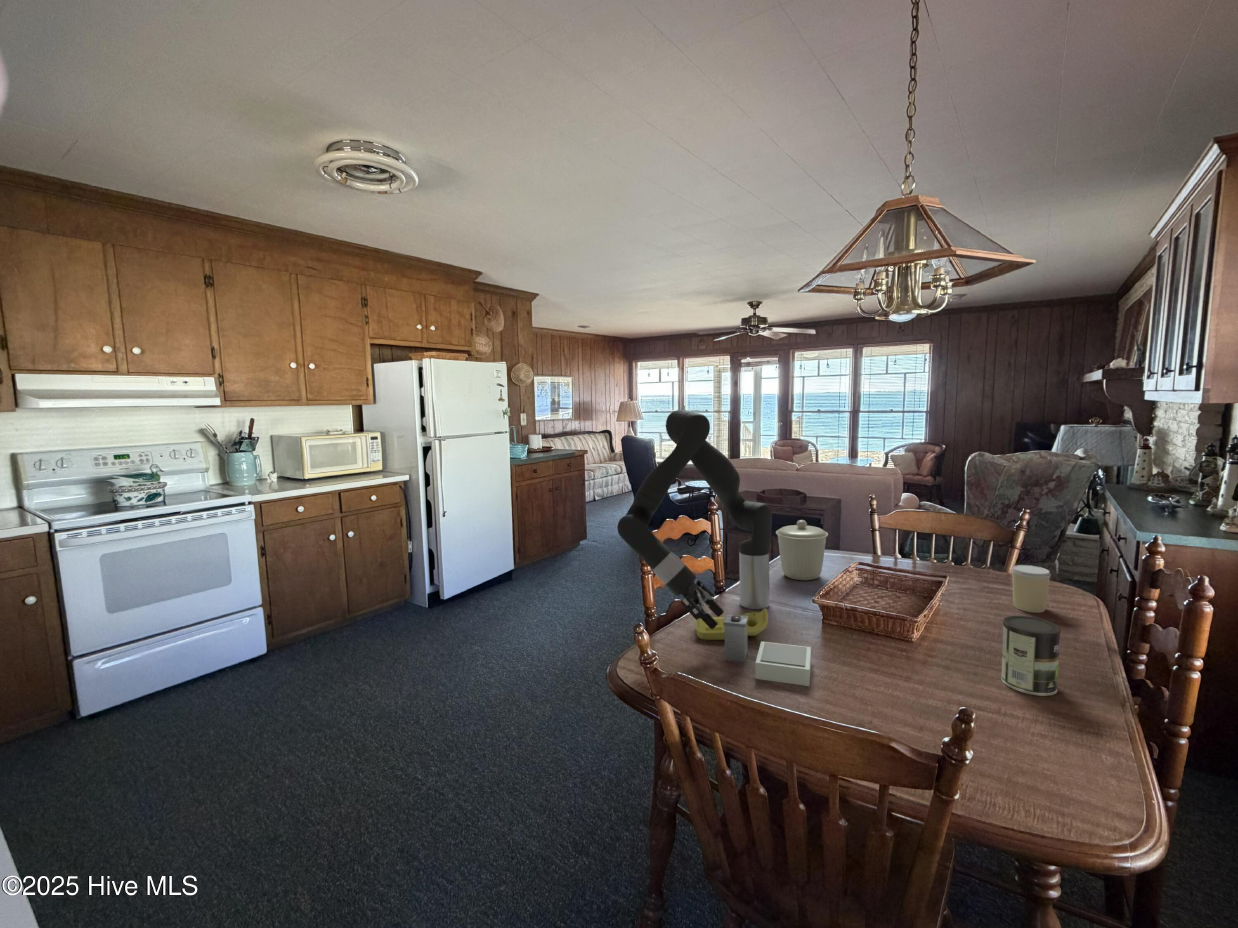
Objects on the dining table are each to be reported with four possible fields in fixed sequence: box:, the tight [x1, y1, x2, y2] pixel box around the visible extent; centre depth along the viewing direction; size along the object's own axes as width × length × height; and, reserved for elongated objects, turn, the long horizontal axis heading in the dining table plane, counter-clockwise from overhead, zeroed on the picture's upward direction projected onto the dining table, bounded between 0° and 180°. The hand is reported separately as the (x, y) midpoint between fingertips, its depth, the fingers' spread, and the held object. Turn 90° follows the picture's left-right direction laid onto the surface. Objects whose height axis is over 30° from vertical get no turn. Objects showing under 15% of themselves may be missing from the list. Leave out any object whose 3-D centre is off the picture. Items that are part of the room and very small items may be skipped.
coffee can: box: [1000, 615, 1062, 697], centre depth 123 cm, size 10×10×14 cm
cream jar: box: [1011, 564, 1052, 613], centre depth 166 cm, size 9×9×12 cm
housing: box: [724, 613, 749, 663], centre depth 141 cm, size 5×5×11 cm
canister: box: [775, 519, 829, 581], centre depth 202 cm, size 18×18×21 cm
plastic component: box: [695, 608, 769, 641], centre depth 155 cm, size 20×7×10 cm
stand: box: [755, 640, 812, 687], centre depth 133 cm, size 12×12×4 cm
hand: (718, 620), depth 142 cm, fingers open, 8 cm apart
